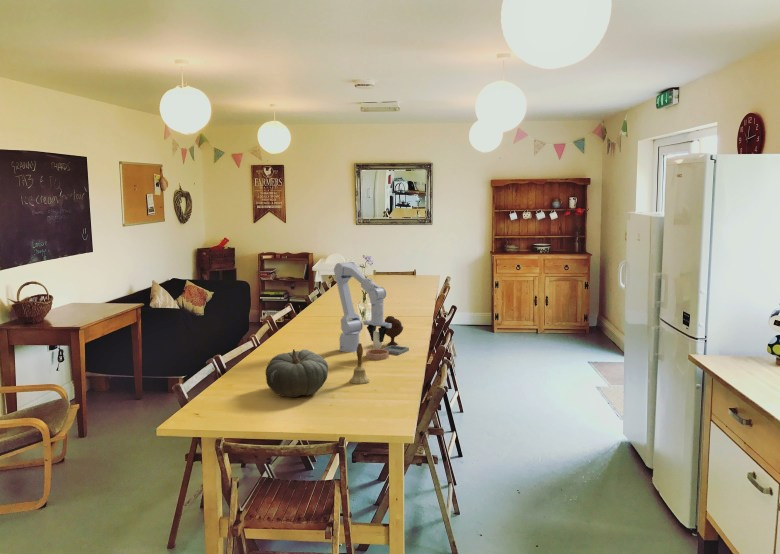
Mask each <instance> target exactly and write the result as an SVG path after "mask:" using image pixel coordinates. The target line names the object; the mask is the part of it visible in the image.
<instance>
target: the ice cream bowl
mask: <svg viewBox="0 0 780 554" xmlns="http://www.w3.org/2000/svg"><path fill="white" fill-rule="evenodd" d="M384 322H386V323H391V324H392V328H388V329H387V331H386V333H385V336H387V337H389V338H390V341H389V342H388V343H387V344H386V346H387V347H388V346H390V345H394V346H399V344H398V343H397V342H396V341H395V338H396V337H398V336H399V335H400V334H401V333H402V332H403V330H404V326H403V324H402V322H401V320H399V319H397V318H396V317H394V316H393V315H389V316H386V318H385V319H384Z"/></svg>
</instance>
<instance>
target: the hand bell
mask: <svg viewBox="0 0 780 554" xmlns="http://www.w3.org/2000/svg"><path fill="white" fill-rule="evenodd" d="M363 351H364V348H363V344H362V343H360V342H359V344H358V347H357V352H356V356H357V365H356V367H354V369H353V375H352V377H351V378H350V379H349V383H350V384H353V385H363V384H367V383H368V384H369V382H370V379H369V377H368V376H367V374H366V368H364V367H363V366H362V358H363V355H364V354H363V353H364V352H363Z"/></svg>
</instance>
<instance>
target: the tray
mask: <svg viewBox="0 0 780 554" xmlns="http://www.w3.org/2000/svg"><path fill="white" fill-rule="evenodd" d="M382 349H384V350H388V351H389V355H394V356H400V355H402V354H404V353H407V352H408V351H409V352H410V350H409V349H410V348H409V347H407V346H400V345H397V346H394V345H390V346H388V345H387V346H386V347H383V348H382Z"/></svg>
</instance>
